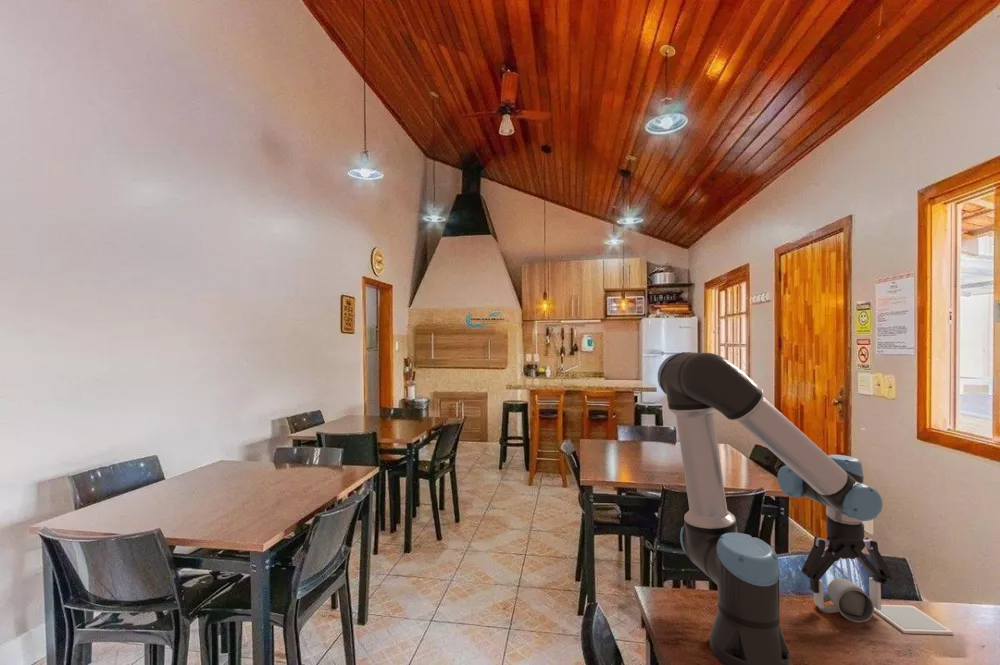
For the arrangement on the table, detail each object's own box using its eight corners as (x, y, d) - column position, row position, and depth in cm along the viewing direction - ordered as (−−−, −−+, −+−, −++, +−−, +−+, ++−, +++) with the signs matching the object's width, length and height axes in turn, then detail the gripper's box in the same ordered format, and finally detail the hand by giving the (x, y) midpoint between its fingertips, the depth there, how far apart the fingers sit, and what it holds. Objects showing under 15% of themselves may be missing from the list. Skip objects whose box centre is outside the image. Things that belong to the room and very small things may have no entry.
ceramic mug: (858, 606, 117) (857, 575, 117) (875, 625, 109) (874, 592, 110) (811, 601, 120) (810, 571, 120) (824, 619, 112) (822, 586, 112)
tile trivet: (903, 633, 106) (903, 630, 106) (867, 606, 117) (867, 604, 117) (953, 634, 106) (953, 631, 106) (912, 607, 117) (912, 605, 117)
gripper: (802, 523, 112) (804, 613, 111) (909, 526, 111) (912, 616, 110) (784, 513, 119) (786, 596, 118) (884, 514, 118) (887, 599, 117)
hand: (846, 606), depth 114 cm, fingers open, 13 cm apart
